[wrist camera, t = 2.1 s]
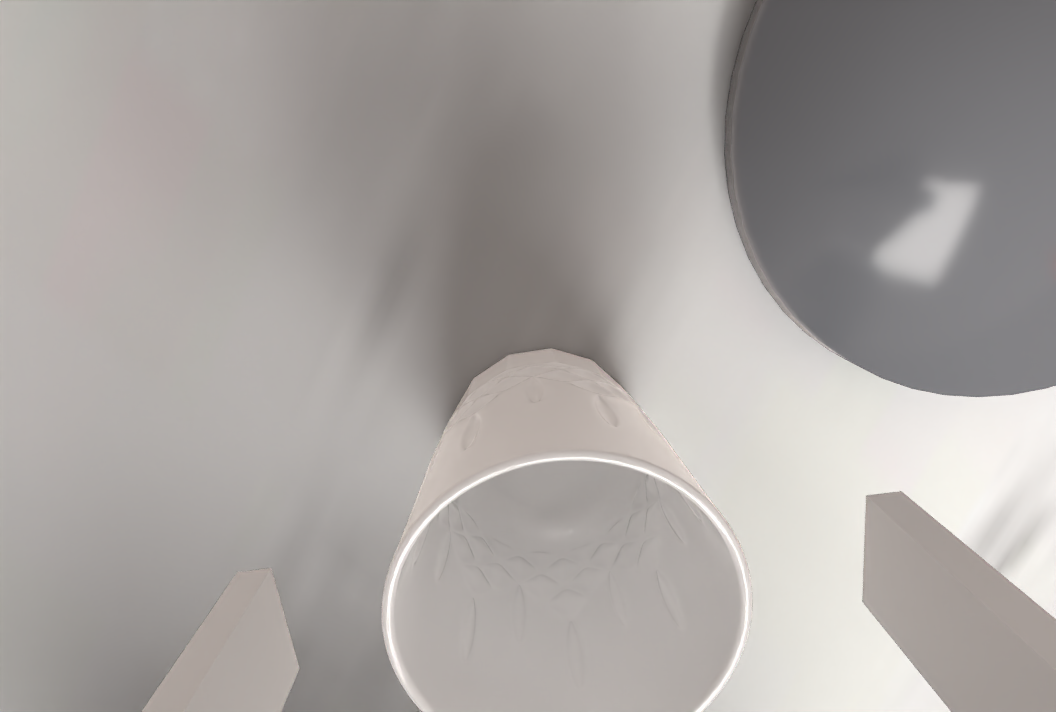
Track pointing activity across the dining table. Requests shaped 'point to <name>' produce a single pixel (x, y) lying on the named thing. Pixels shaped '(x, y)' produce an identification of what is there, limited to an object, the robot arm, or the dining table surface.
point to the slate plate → (904, 183)
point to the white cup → (562, 557)
